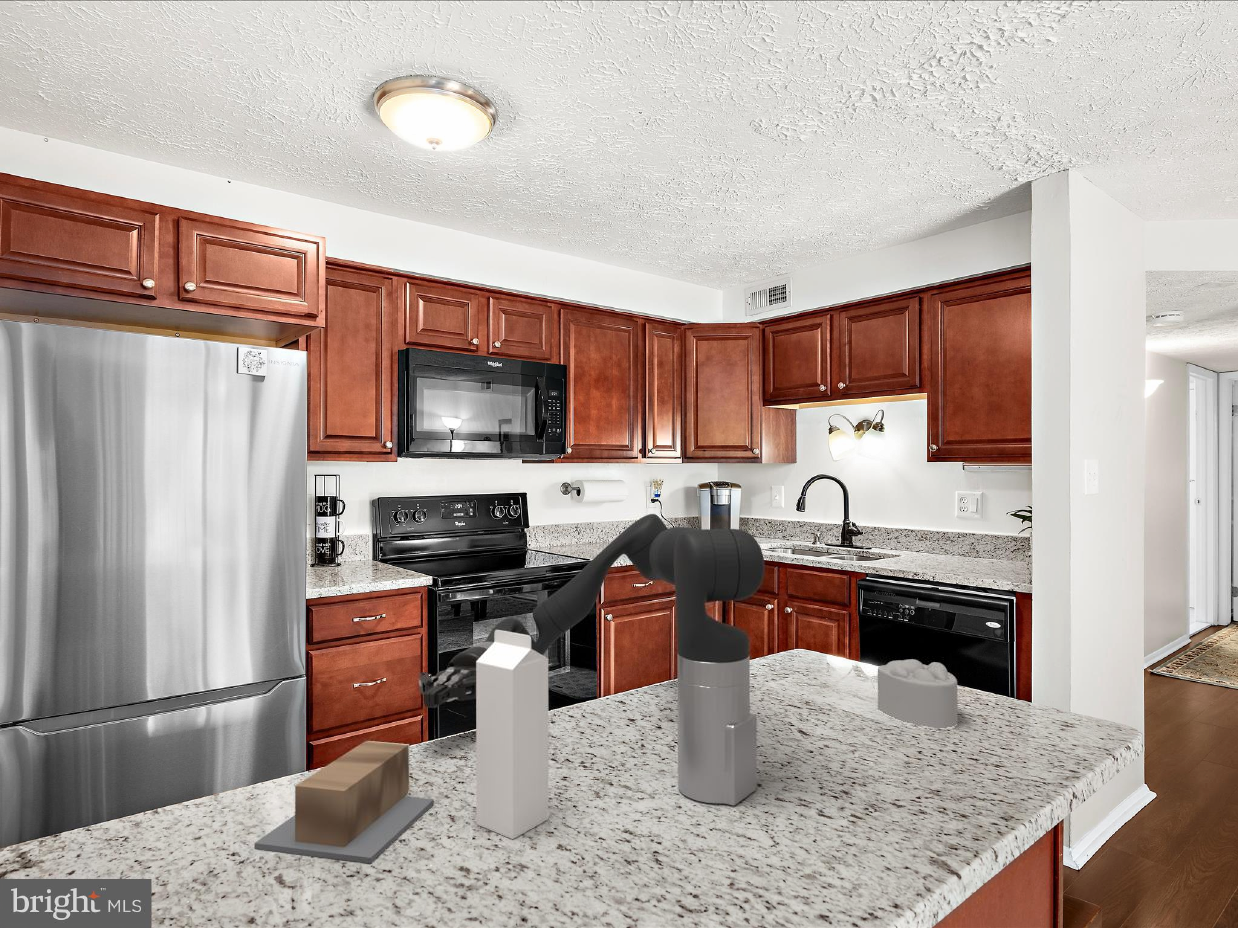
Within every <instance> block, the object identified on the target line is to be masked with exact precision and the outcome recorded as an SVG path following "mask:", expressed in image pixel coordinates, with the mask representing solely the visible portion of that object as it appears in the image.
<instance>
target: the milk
mask: <svg viewBox="0 0 1238 928" xmlns="http://www.w3.org/2000/svg"><path fill="white" fill-rule="evenodd" d="M475 703H476V705H475V707H476V711H475V713H476V714H475V715H476V717H475V718H476V719H475V720H476V724H475V725H476V726H475V727H476V731H475V733H476V735H475V736H476V737H475V738H476V739H475V741H476V744H475V746H476V747H475V749H476V750H475V751H476V754H475V755H476V757H475V758H476V759H475V761H476V762H475V763H476V766H475V767H476V768H475V769H476V772H475V773H476V775H475V777H476V778H475V780H476V783H475V784H476V786H475V787H476V788H475V789H476V791H475V795H476V797H475V798H476V800H475V801H476V803H475V804H476V805H475V806H476V807H475V808H476V810H475V811H476V813H475V815H476V817H475V818H476V819H475V820H476V821H475V822H476V825H477V826H480V827H482V828H483V829H487V830H489V831H492V832H494V833H497V834H498V835H502V836H504V837H506V838H508V839H511V840H514V839H516V838H518V837H519V836H521V835H523V834H525V833H527V832H529V831H531V829H533V828H535V827H538V826H539V825H541V824H542V823H545V822H546V821H548V820H549V658H548V657H546V656H545V655H541V654H539V653H538V652H536V651H534V650H532V649H531V637H530V636H529V635H524V634H518V633H513V632H507V631H502V630H495V633H494V643H493V644H492V645H491V646H490V647H489V648H488V649H487V651H486V652H485V653H484V654H483V655H482V656H481V657H480V658H479V659H478V660H477V661H476V702H475Z"/></svg>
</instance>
